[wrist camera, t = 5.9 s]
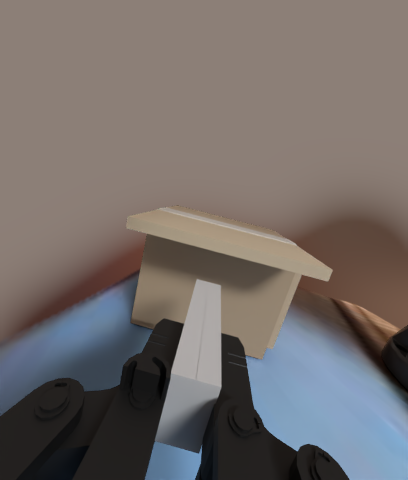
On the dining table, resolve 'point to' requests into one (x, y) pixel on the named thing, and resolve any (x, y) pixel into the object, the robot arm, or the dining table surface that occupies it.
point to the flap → (228, 238)
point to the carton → (232, 291)
